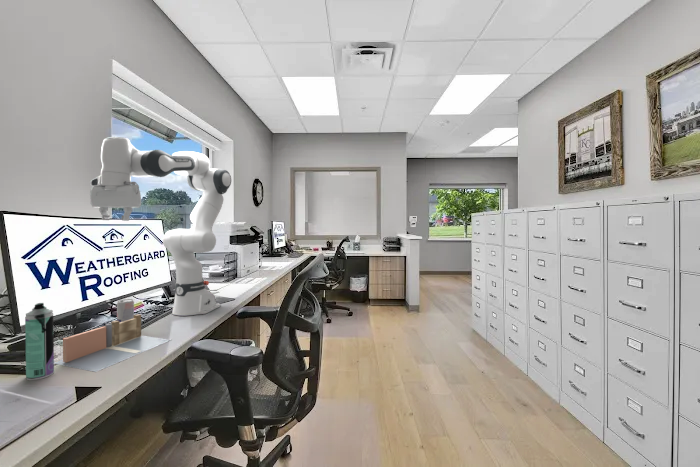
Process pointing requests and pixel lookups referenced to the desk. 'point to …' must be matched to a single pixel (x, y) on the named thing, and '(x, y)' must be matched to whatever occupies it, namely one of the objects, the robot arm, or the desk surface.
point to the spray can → (39, 343)
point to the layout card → (114, 354)
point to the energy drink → (125, 310)
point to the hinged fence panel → (87, 343)
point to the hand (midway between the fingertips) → (115, 220)
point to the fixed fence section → (126, 330)
